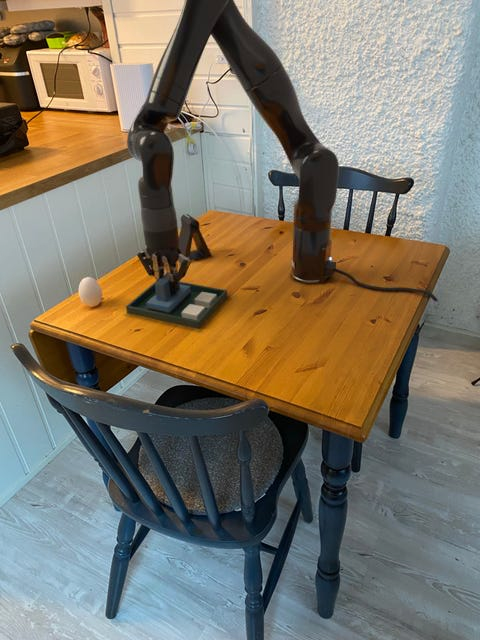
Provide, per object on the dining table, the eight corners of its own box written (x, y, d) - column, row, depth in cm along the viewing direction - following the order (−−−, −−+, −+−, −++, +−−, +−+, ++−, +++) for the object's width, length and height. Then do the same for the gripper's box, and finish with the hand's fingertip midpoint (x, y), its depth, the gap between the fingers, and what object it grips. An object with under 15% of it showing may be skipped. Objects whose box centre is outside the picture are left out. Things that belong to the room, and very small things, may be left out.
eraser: (191, 294, 116) (188, 269, 112) (169, 316, 108) (166, 289, 104) (170, 290, 118) (167, 265, 115) (147, 311, 110) (143, 285, 107)
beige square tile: (217, 300, 114) (216, 294, 113) (209, 308, 111) (209, 302, 110) (202, 297, 115) (201, 291, 114) (194, 305, 112) (194, 299, 111)
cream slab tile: (205, 313, 109) (205, 306, 108) (197, 322, 106) (196, 315, 105) (190, 310, 110) (189, 303, 109) (182, 318, 107) (181, 312, 106)
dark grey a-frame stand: (183, 264, 132) (178, 223, 126) (175, 256, 137) (170, 217, 130) (211, 256, 136) (208, 217, 129) (202, 249, 140) (199, 210, 134)
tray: (227, 298, 116) (227, 290, 114) (199, 330, 104) (198, 322, 103) (161, 285, 122) (160, 277, 121) (127, 314, 111) (125, 306, 109)
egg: (93, 313, 112) (86, 285, 108) (77, 307, 114) (70, 280, 110) (109, 303, 116) (103, 275, 111) (93, 298, 118) (87, 270, 114)
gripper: (123, 226, 102) (135, 295, 111) (179, 234, 97) (186, 305, 107) (142, 214, 108) (152, 281, 117) (195, 221, 103) (201, 290, 112)
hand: (168, 292), depth 112 cm, fingers closed on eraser, 2 cm apart
